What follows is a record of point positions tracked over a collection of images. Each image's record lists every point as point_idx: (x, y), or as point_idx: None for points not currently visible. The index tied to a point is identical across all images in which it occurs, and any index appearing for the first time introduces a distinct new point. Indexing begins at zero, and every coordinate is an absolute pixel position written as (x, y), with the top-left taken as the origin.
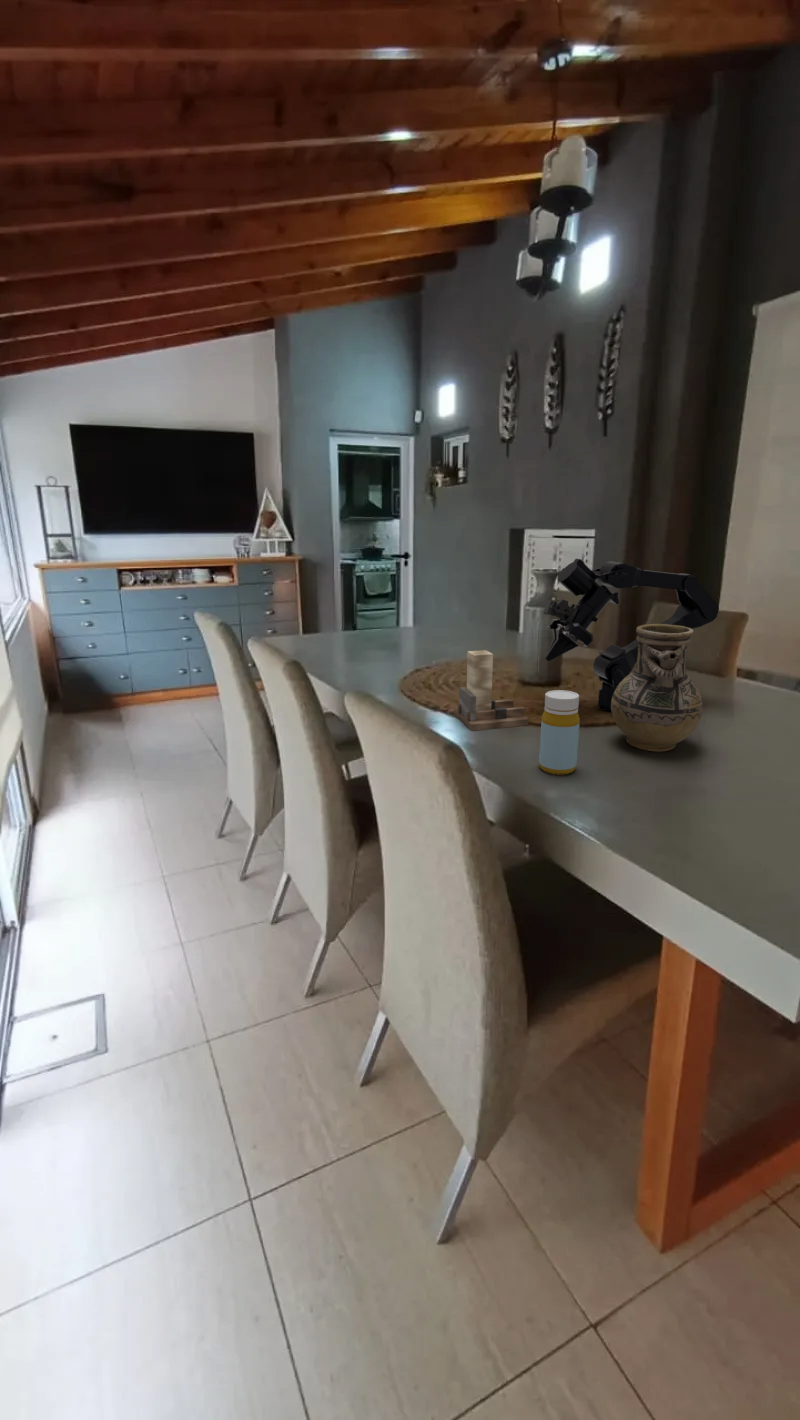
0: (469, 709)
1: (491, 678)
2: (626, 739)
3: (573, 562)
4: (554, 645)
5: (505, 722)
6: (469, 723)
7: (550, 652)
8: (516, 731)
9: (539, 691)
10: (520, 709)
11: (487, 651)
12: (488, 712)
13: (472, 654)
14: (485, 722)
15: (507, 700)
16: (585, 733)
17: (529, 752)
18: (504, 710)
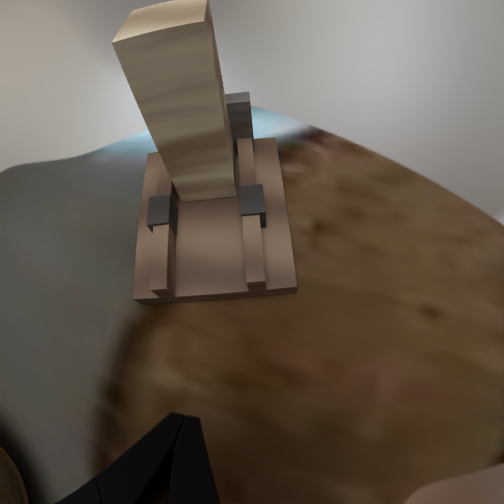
0: None
1: (145, 118)
2: (7, 454)
3: None
4: (81, 489)
5: (138, 231)
6: None
7: (132, 450)
8: (111, 256)
9: (469, 445)
10: (151, 275)
11: (172, 25)
12: (158, 180)
13: (152, 5)
14: (148, 182)
15: (252, 261)
16: (56, 415)
17: (20, 242)
18: (147, 220)
